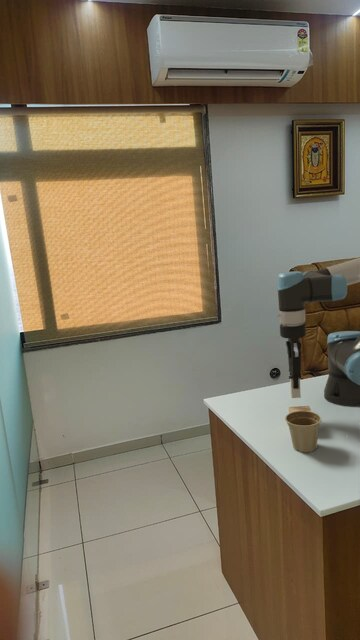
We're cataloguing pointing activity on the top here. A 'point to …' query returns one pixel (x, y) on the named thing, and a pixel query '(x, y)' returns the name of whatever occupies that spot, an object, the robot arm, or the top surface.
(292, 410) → the tan cube
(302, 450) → the flower pot
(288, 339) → the robot arm
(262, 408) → the top surface
